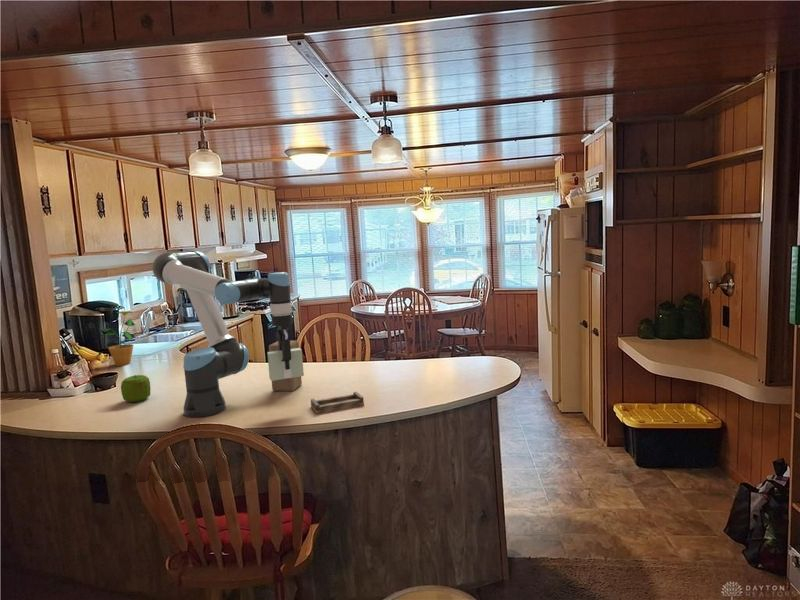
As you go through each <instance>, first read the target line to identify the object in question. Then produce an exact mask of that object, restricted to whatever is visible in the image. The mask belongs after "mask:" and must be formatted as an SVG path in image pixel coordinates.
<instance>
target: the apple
mask: <svg viewBox="0 0 800 600" xmlns="http://www.w3.org/2000/svg"><path fill="white" fill-rule="evenodd" d="M120 384H121V385H120V391H121V396H122V399H123V400H124V401H126V402H130V403H137V402H143V401H145V400H147V399H148V398H149V397H150V396H151V382H150V378H149V377H147V375H143V374H134V375H130V376H129V377H126V378H124V379H123V380H122V381H121V383H120Z"/></svg>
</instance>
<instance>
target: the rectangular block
mask: <svg viewBox="0 0 800 600" xmlns="http://www.w3.org/2000/svg"><path fill="white" fill-rule="evenodd" d="M281 360H283V353H282V350H280V351H272V352H269V351H267V363H268V375H269V380H270V381H271V382H272V381H274V380H281V379H287V378H284V371H283V361H281ZM290 362H291V374H292V377H291V378H294V377H300V376H301V377H304V376H305V374H304V362H303V350H302V348H300V347H299V348H295V349H291V360H290Z"/></svg>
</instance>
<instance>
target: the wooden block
mask: <svg viewBox="0 0 800 600" xmlns="http://www.w3.org/2000/svg"><path fill="white" fill-rule="evenodd" d="M290 348H291V349H295V348H300V343H299V341H298V340H296V339H295V340H290ZM272 351H279V347H278V340H277V341H276V342H272V344H269V345H268V352H272ZM302 384H303V382H302V376H300V377H294V378H287V379H281V380H274V381H271V389H272V391H273V392H294V391H295V390H297V389H298V388H299V387H301V386H302Z"/></svg>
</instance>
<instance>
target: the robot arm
mask: <svg viewBox="0 0 800 600" xmlns="http://www.w3.org/2000/svg"><path fill="white" fill-rule="evenodd" d="M151 266H152V267H151V268H152V269H151V270H152V273H153V276H154V277H155V278H156V279H157V280H158V281H160V282H162V283H164V284H167V285H179V286H180V288H181V289H183V290H186V292H187V294H188V298H189V300H190V302H191V304H192V306H193V309H194V312H195V313H196V316H197V319H198V321H199V323H200V326H201V328H202V330H203V332H204V335H205V337H206V340H207V342H208V345H207V347H201V348H197V349H193V350H190V351H189V352H187V353H186V354H185V355H184V356H183V371H184V378H185V388H186V396H185V399H184V404H183V415H184V416H185V417H189V418H202V417H203V418H204V417H210V416H213V415H217V414H219V413H221V412H224V411H225V410H226V408H227V405H226V401H225V398H224V395H223V394H222V392H221V390H220V384H219V381H220V379H221V380H222V379H224V378H226V377H230V376H232V375H236V374H238V373H240V372H242V371H245V369H246V368H247V367H248V364H249V363H248V362H249V359H250V353H249V351H248V348H247V347H246V346H245V344H243V343H241V342H238V341H237V338H236V337H235V336H233V335H231V333H230V332H229V330H228V328H227V325H226V322H225V320H224V319H223V316H222V313H221V311H220V308H219V306H218V304H217V301H218V303H220V304H222V305H233V304H236V303H237V304H238V303H240V302H241V303H242V302H246V301H251V300H257V299H269V306H270V315H271V325H272V326H273V327H277V329H276V335H277V341H278V347H279V351H280V350H282V353H283V360H281V361H283V371H284V378H291V377H292V374H291V362H290V360H291V348H290V341H291V334H290V329H288V326H290V325H293V314H292V312H293V311H292V310H293V309H292V307H294V304H292V302H291V301H292V300H291V282H290V278H289V277H290V276H289V274H288V272H286V271H281V272H280V271H279V272H278V271H276V272H270V273H268V274H267V278H266V277H264V278H261V277H259V278H258V277H251V278H245V279H243V280H242V279H241V280H232V279H227V278H225V277H222V276H219V275H215V274H213V273H211V269H210V268H211V261H210V260H209V258H208V257H207V256H206V254H204V253H203V252H201V251H199V250H186V251H170V252H167V251H166V252H163V253H160V254H159V255H158V256H156V257H155V259H154V260H153V262H152V265H151ZM215 299H216V300H217V301H216V300H215Z"/></svg>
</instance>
